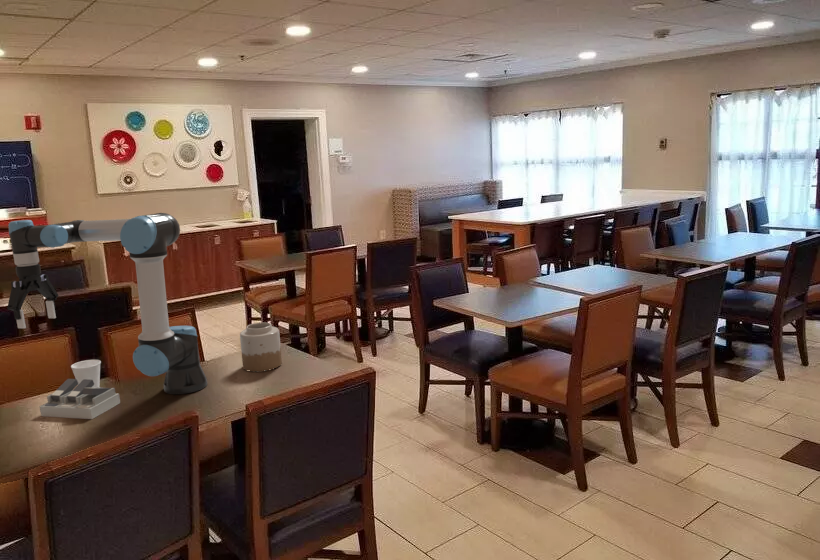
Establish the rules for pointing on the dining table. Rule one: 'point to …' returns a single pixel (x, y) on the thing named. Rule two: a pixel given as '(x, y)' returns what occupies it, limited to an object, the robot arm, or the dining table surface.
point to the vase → (260, 347)
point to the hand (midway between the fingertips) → (37, 323)
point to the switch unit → (80, 405)
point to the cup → (87, 371)
